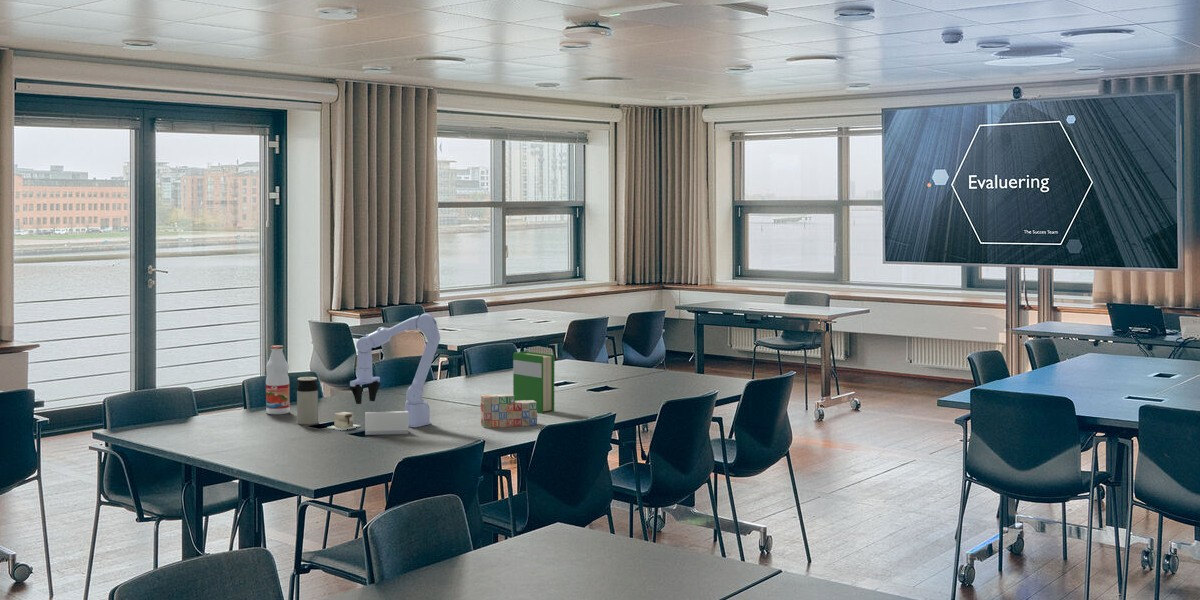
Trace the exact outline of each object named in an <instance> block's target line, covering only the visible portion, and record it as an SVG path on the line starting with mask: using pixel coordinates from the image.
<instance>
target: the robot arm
mask: <svg viewBox="0 0 1200 600" xmlns="http://www.w3.org/2000/svg"><path fill="white" fill-rule="evenodd" d="M417 329H418V330H420V331H421V332H422V333H423V334H424V336H425V338H426V340H427V342H426V344H425V347H424V350H423V353H422V355H421V358H420V361H419V364H418V366H417V368H416V369H417V370H416V371H415V375H414V378H413V380H412V383H411V385H409V386H408V388H407V390H406V393H405V398H406V401H405V403H404V404H405V405H404V407H405V409H404V411H408V428H409V427H410V428H418V427H423V426H428V425H431V424H432V422H431V419H430V416H431V415H430V413H431V412H430V411H431V410H430V405H429V403H428V402H427V401H424V399H423V395H424V386H425V382H426V380H427V377H428V374H429V371H430V368H431V366H432V363H433V360H434V357H435V355H436V352H437V350H438V347H439V344H440V341H441V336H440V331H439V327H438V324H437V320H436V319H435V318H434V316H433V315H432V314H430V313H426V312H425V313H421V315H419V314H418V315H415V316H413V317H410V318H408V319H406V320H404V321H402V322H400V323H398V324H396V325H394V326H391V327H390V328H386V327H382V328H381V327H378V328H376V330H375V331H373V332H371V333H366V334H365V336H362V337H360V338H359V339H358V340H357V341H356V349H357V352H356V354H357V356H356V361H357V363H356V366H357V369H356V370H357V371H356V373H357V378H356V379H353V380H350V381H349V389H350V390H351V392H352V394H353V397H354V402H355V404H356V405H361V404H362V401H363V400H362V399H363V398H362V395H363V390H364V386H362V385H366V386H367V389H368V397H369V398H368V399H369V402H375V401H376V397H377V394H378V390H379V388H380V387H381V382H380V381H381V380H380V379H381V377H380V376H373V355H372V348H374V349H376V348H377V347H380V346H382V345H384V344H387V343H388V342H391V338H392V337H393V336H396V335H398V334H400V333H402V332H405V331H407V330H417Z"/></svg>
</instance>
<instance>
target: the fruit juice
mask: <svg viewBox="0 0 1200 600" xmlns="http://www.w3.org/2000/svg"><path fill="white" fill-rule="evenodd" d="M270 350H271V352H270V356H269V359H268V361H267V362H266V365H265V370H266V378H265V401H266V402H265V403H266V404H265V407H266V408H265V409H266V410H265V411H266V414H268V415H284V414H289V413H290V409H291V408H290V407H291V406H290V405H291V404H290V403H291V401H290V397H291V396H290V395H291V394H290V376H289V373H288V372H289V367H290V366H289V363H288V362H287V360H286V357H285V354H284V352H283V350H284V345H277V344H275V345H271V346H270Z"/></svg>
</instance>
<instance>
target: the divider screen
mask: <svg viewBox="0 0 1200 600" xmlns="http://www.w3.org/2000/svg"><path fill="white" fill-rule="evenodd" d="M364 417H365V418H364V421H365V422H364V423H365V425H364V427H365V428H364V429H365V431H364V435H365V436H373V435H374V436H376V435H408V434H409V426H408V411H405V410H403V411H401V410H399V411H366V412H364Z"/></svg>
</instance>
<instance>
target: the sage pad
mask: <svg viewBox="0 0 1200 600" xmlns="http://www.w3.org/2000/svg"><path fill="white" fill-rule="evenodd" d="M356 427H357V428H361V427H362V426H361V424H355V423H353V426H350V427H345V428H341V427H335V426H334V425H331V426H330V425H329V426H327V427H326V429H328V430H333V429H335V431H340V430H341V432H342V431H346V430H347V429H348V430H352V429H356Z"/></svg>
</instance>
